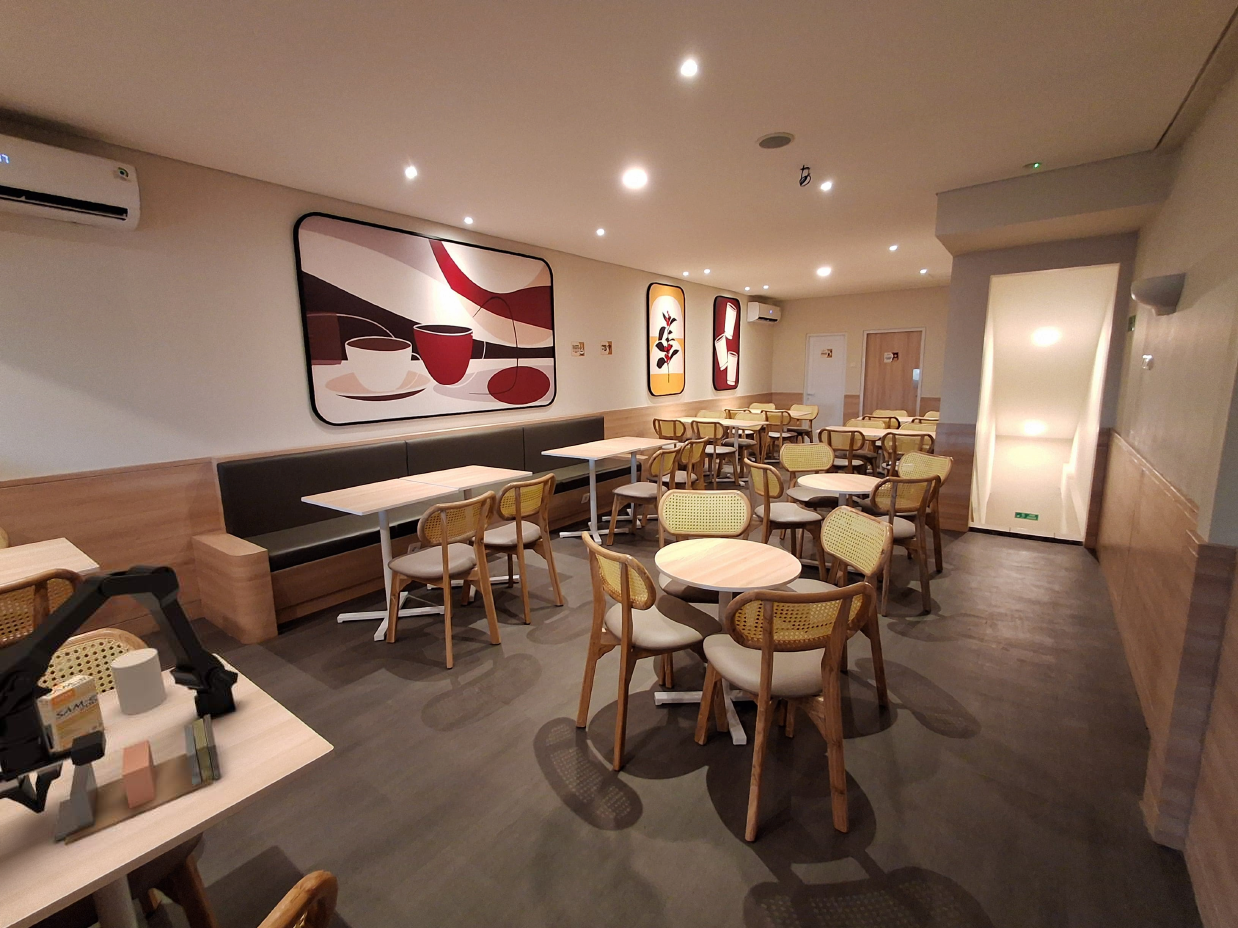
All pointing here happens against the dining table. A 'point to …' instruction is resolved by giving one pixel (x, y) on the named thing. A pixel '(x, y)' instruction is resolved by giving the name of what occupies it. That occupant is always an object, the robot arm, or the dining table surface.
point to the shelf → (160, 781)
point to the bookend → (78, 804)
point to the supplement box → (71, 710)
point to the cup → (138, 681)
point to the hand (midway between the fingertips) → (41, 810)
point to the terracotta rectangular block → (139, 774)
